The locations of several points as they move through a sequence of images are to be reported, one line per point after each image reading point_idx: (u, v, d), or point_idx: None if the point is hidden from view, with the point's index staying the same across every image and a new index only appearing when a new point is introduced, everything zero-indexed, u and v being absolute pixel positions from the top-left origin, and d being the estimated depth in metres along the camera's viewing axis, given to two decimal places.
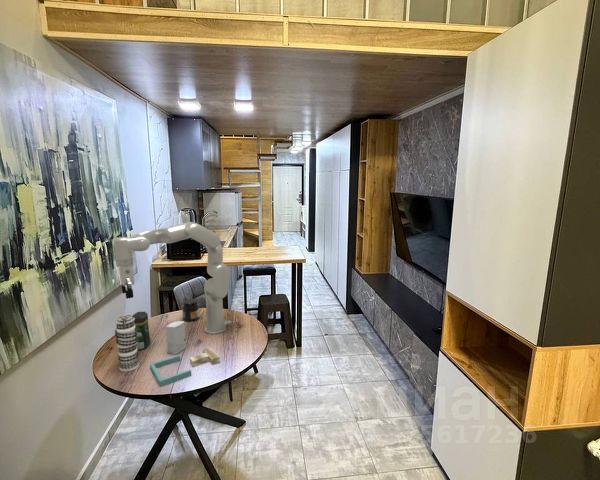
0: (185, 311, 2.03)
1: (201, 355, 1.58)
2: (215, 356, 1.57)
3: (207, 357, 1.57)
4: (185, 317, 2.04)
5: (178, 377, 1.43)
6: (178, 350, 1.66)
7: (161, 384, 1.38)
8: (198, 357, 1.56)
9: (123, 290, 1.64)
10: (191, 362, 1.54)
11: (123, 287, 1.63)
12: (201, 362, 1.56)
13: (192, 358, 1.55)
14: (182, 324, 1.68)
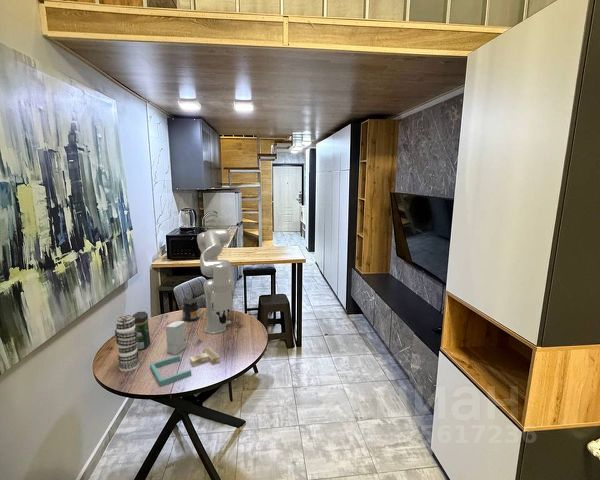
0: (185, 311, 2.03)
1: (201, 355, 1.58)
2: (215, 356, 1.57)
3: (207, 357, 1.57)
4: (185, 317, 2.04)
5: (178, 377, 1.43)
6: (178, 350, 1.66)
7: (161, 384, 1.38)
8: (198, 357, 1.56)
9: None
10: (191, 362, 1.54)
11: None
12: (201, 362, 1.56)
13: (192, 358, 1.55)
14: (182, 324, 1.68)
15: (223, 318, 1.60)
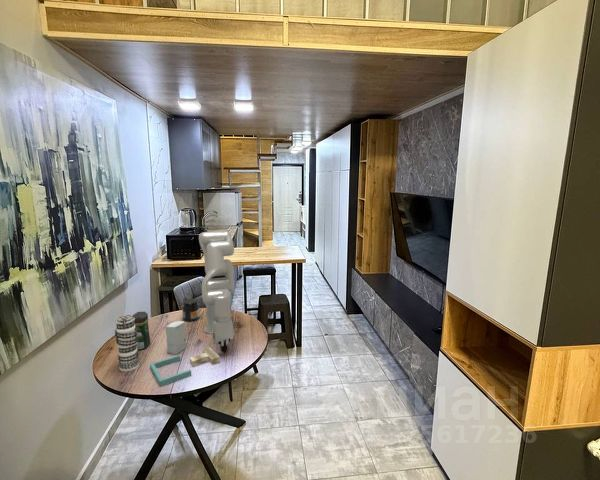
0: (185, 311, 2.03)
1: (201, 355, 1.58)
2: (215, 356, 1.57)
3: (207, 357, 1.57)
4: (185, 317, 2.04)
5: (178, 377, 1.43)
6: (178, 350, 1.66)
7: (161, 384, 1.38)
8: (198, 357, 1.56)
9: None
10: (191, 362, 1.54)
11: None
12: (201, 362, 1.56)
13: (192, 358, 1.55)
14: (182, 324, 1.68)
15: (224, 347, 1.63)
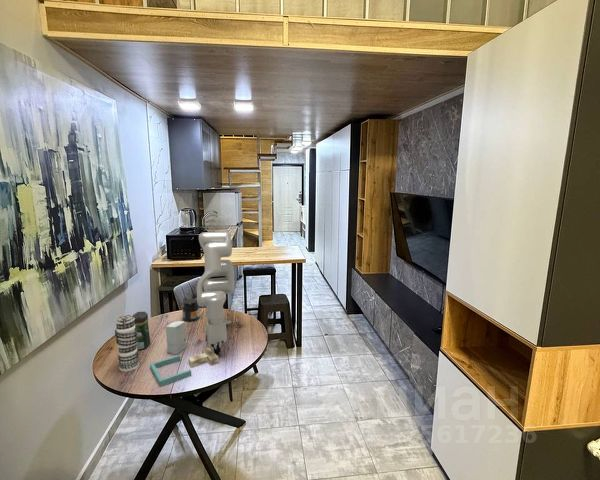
0: (185, 311, 2.03)
1: (200, 355, 1.58)
2: (214, 356, 1.57)
3: (206, 357, 1.57)
4: (185, 317, 2.04)
5: (178, 377, 1.43)
6: (178, 350, 1.66)
7: (161, 384, 1.38)
8: (197, 358, 1.55)
9: None
10: (190, 362, 1.54)
11: None
12: (200, 362, 1.55)
13: (191, 358, 1.55)
14: (182, 324, 1.68)
15: (217, 350, 1.61)
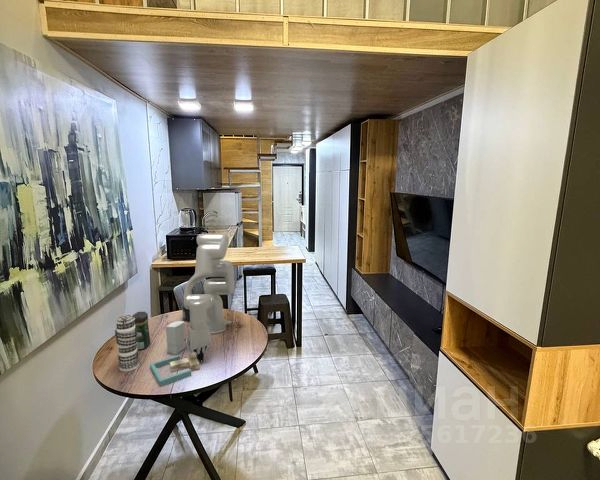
0: (185, 311, 2.03)
1: (182, 360, 1.53)
2: (195, 362, 1.51)
3: (187, 363, 1.52)
4: (185, 317, 2.04)
5: (178, 377, 1.43)
6: (178, 350, 1.66)
7: (161, 384, 1.38)
8: (178, 362, 1.51)
9: (201, 358, 1.56)
10: (170, 367, 1.50)
11: None
12: (180, 367, 1.51)
13: (172, 363, 1.51)
14: (182, 324, 1.68)
15: (201, 355, 1.56)
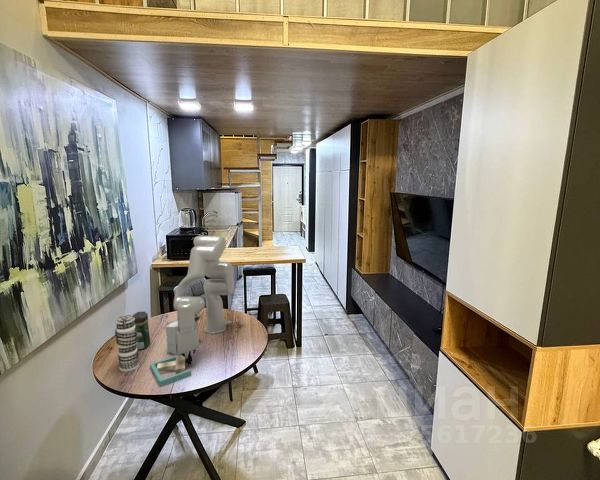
0: None
1: (169, 363, 1.51)
2: (181, 366, 1.48)
3: (174, 366, 1.49)
4: None
5: (178, 377, 1.43)
6: None
7: (161, 384, 1.38)
8: (165, 365, 1.49)
9: None
10: (157, 369, 1.49)
11: None
12: (167, 370, 1.49)
13: (159, 365, 1.50)
14: None
15: (189, 359, 1.52)
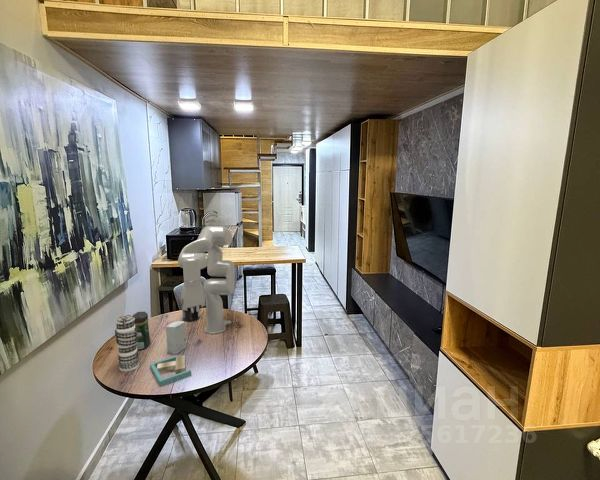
0: (185, 311, 2.03)
1: (169, 363, 1.51)
2: (181, 366, 1.48)
3: (174, 366, 1.49)
4: (185, 317, 2.04)
5: (178, 377, 1.43)
6: (178, 350, 1.66)
7: (161, 384, 1.38)
8: (165, 365, 1.49)
9: (195, 317, 1.53)
10: (157, 369, 1.49)
11: None
12: (167, 370, 1.49)
13: (159, 365, 1.50)
14: (182, 324, 1.68)
15: (195, 314, 1.52)
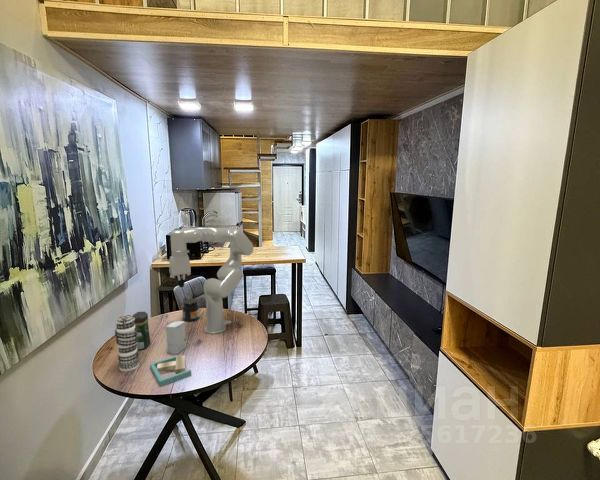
0: (185, 311, 2.03)
1: (169, 363, 1.51)
2: (181, 366, 1.48)
3: (174, 366, 1.49)
4: (185, 317, 2.04)
5: (178, 377, 1.43)
6: (178, 350, 1.66)
7: (161, 384, 1.38)
8: (165, 365, 1.49)
9: None
10: (157, 369, 1.49)
11: None
12: (167, 370, 1.49)
13: (159, 365, 1.50)
14: (182, 324, 1.68)
15: (181, 282, 1.70)
